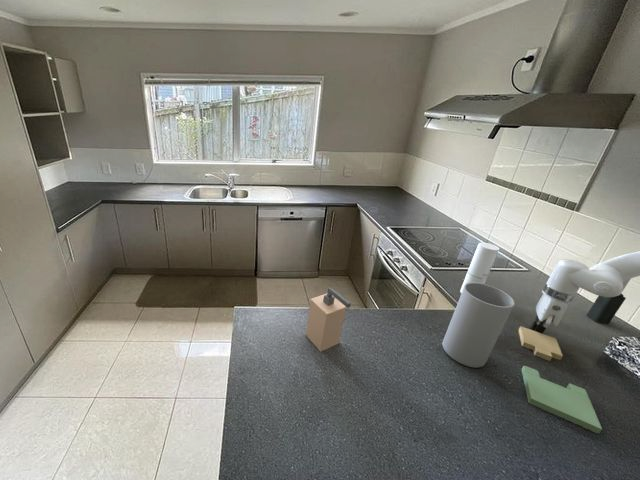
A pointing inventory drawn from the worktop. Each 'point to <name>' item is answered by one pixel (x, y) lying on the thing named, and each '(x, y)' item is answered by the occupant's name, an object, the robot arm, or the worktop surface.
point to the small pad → (540, 344)
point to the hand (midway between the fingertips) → (535, 331)
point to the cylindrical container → (481, 264)
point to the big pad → (560, 400)
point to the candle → (606, 307)
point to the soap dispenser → (326, 319)
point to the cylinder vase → (476, 324)
